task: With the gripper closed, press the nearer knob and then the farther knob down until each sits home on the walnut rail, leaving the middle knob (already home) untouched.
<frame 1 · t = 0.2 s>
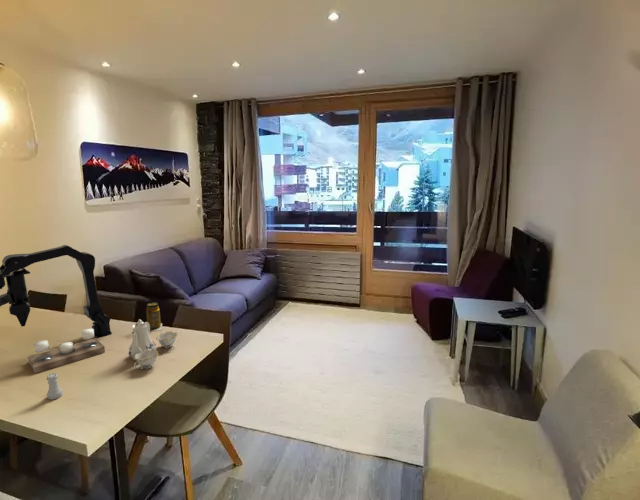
hand: (23, 322, 149), 14 cm above the table, fingers open, 9 cm apart
knob 1: (41, 346, 143), point 8 cm above the table, slide at 3.5 cm
chinaware: (150, 356, 152), on the table
knob rail: (68, 357, 150), on the table
condiment: (153, 328, 180), on the table
knob mid: (66, 347, 149), point 4 cm above the table, slide at 0.0 cm
rook chess piece: (55, 396, 123), on the table
knob 2: (88, 333, 154), point 8 cm above the table, slide at 3.5 cm
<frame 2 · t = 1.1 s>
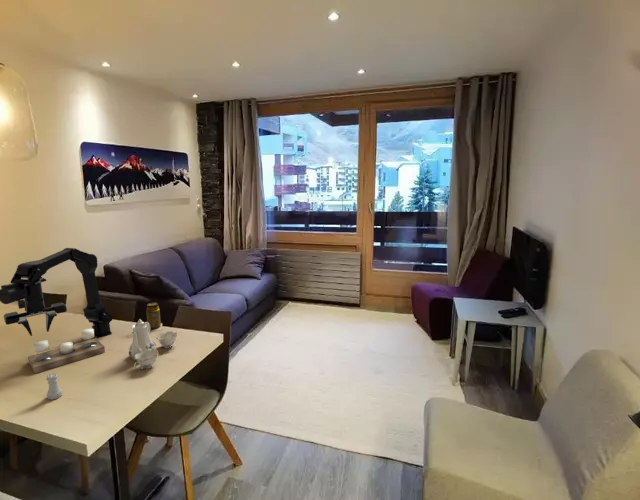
hand: (39, 333, 142), 13 cm above the table, fingers open, 5 cm apart
nothing on the table moved.
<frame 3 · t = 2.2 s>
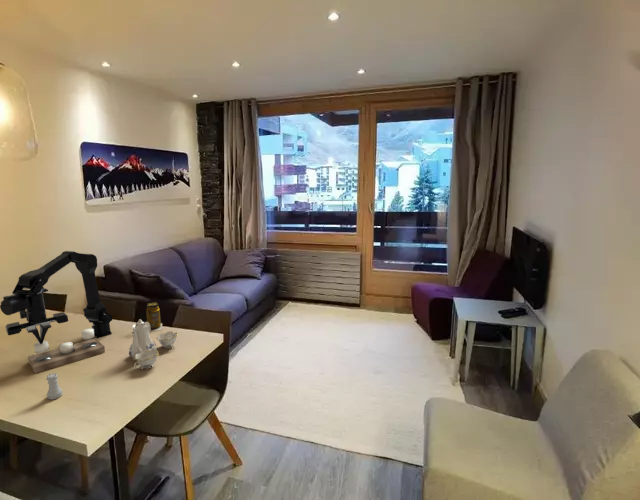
hand: (41, 343, 143), 9 cm above the table, fingers closed, pressing on knob 1
knob 1: (41, 347, 143), point 7 cm above the table, slide at 3.2 cm, touching gripper
everything else where it was.
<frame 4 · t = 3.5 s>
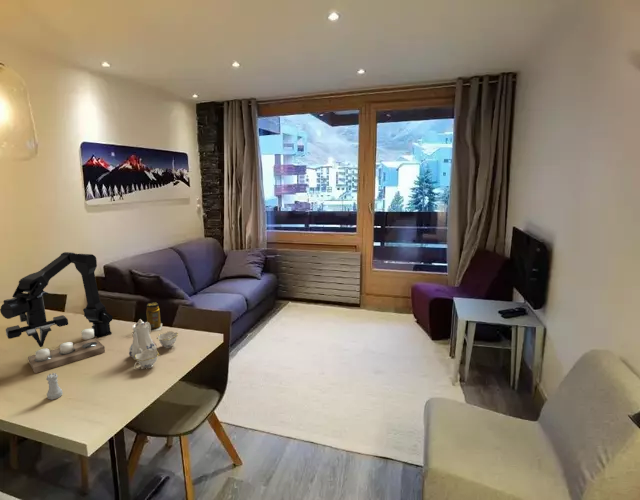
hand: (41, 346, 143), 8 cm above the table, fingers closed
knob 1: (42, 354, 144), point 4 cm above the table, slide at 0.0 cm
everything else where it was.
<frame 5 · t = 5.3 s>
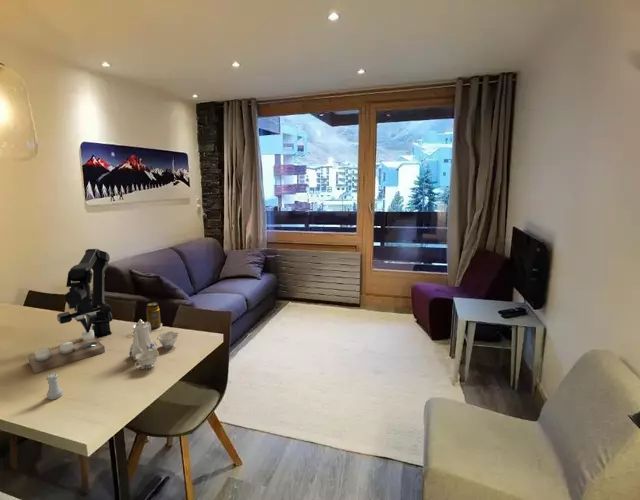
hand: (87, 331, 154), 9 cm above the table, fingers closed, pressing on knob 2
knob 2: (88, 335, 154), point 7 cm above the table, slide at 2.8 cm, touching gripper
everything else where it was.
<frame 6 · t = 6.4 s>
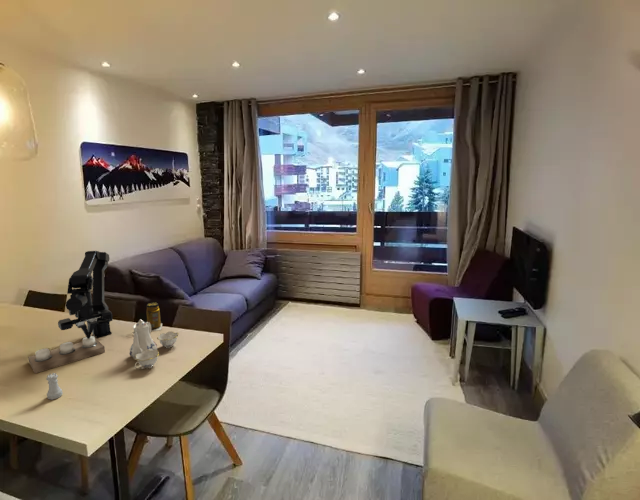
hand: (88, 338, 155), 6 cm above the table, fingers closed
knob 2: (89, 341, 155), point 4 cm above the table, slide at -0.1 cm
everything else where it was.
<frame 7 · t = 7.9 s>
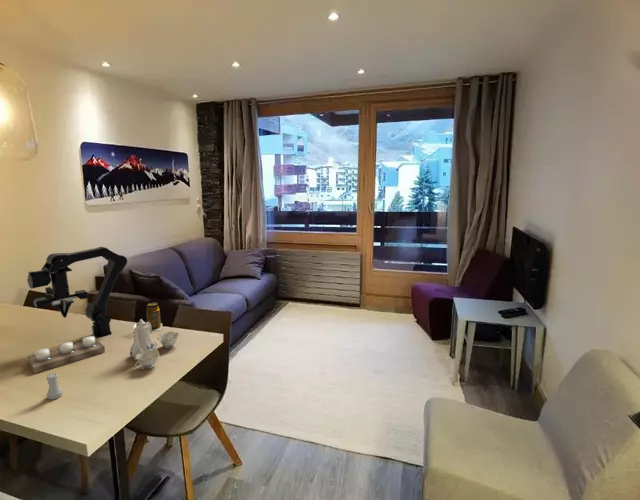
hand: (64, 317, 158), 13 cm above the table, fingers closed
nothing on the table moved.
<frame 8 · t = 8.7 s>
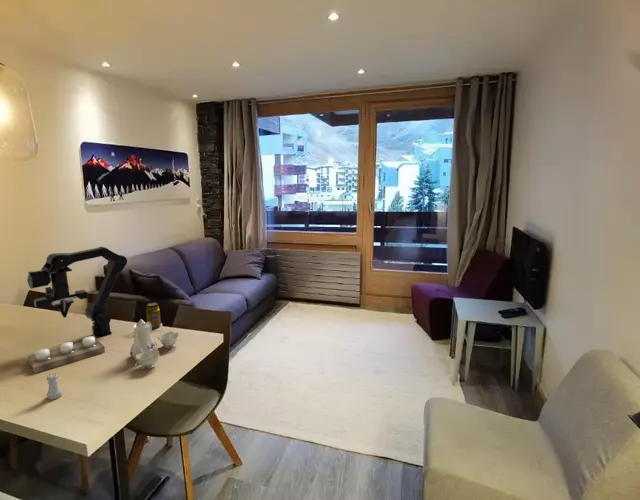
hand: (64, 317, 158), 13 cm above the table, fingers closed
nothing on the table moved.
at the end: knob 1 slide at 0.0 cm; knob 2 slide at -0.1 cm; knob mid slide at 0.0 cm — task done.
